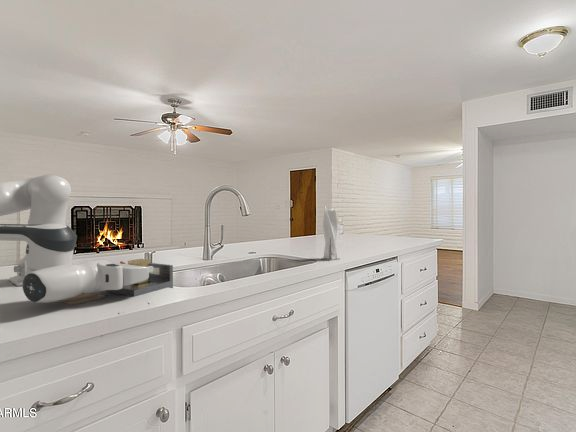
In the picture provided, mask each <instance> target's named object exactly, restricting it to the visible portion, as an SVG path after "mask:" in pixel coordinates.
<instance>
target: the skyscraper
mask: <svg viewBox="0 0 576 432" xmlns="http://www.w3.org/2000/svg"><path fill="white" fill-rule="evenodd" d="M323 213H324V214H323V221H322V222H323V223H322V224H323V225H322V229H323V238H324V242H325V244H324V250H323V257H321V258H320V260H323V259H324V261H329V260H333V261H338V260H341V258H339V257H338V253H337V252H338V251H337V246H336V244H337V243H336V239H337V235H338V225H339V223H338V213H337V209H336V208H334V209H333V208H327V206H326V205H324V212H323ZM337 259H338V260H337Z"/></svg>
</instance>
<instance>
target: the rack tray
mask: <svg viewBox="0 0 576 432" xmlns="http://www.w3.org/2000/svg"><path fill="white" fill-rule="evenodd" d="M148 266H153V272H150V273H149V278H148V283H146V284H142V285H138V286H137V285H127V286H123V288H122V289H119V290H105V291H104V292H108V293H113V294H118V295H123V296H129V297H139V296H142V295H146V294H149V293H152V292H157V291H161V290H163V289H168V288H169V289H173V288H174V275H173V274H174V273H173V272H174V271H173V270H174V269H173V268H174V266H173V265H172V264H164V263H157V262H156V263H155V262H150V264H148Z"/></svg>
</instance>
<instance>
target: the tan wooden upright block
mask: <svg viewBox="0 0 576 432" xmlns="http://www.w3.org/2000/svg"><path fill="white" fill-rule="evenodd" d="M150 263H151V259H148V258H147V259H146V258H138V259H131V260H130V259H129V260H127V264H128V265H136V266H145V267H146V266H148V264H150ZM146 283H148V279H147V280H145V281H142V282H139V283H135V284H132V285H137V286H138V285H142V284H146Z"/></svg>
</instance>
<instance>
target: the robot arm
mask: <svg viewBox="0 0 576 432" xmlns="http://www.w3.org/2000/svg"><path fill="white" fill-rule="evenodd" d="M71 193H72V187H71V185H70V182H68V180H66V179H65V178H63V177H62V176H59V175H56V174H52V173H51V174H48V173H47V174H44V175H39V176H35V177H30V178H28V177H27V178H22V179H15V180H8V181H0V217H3V216H7V215H12V214H16V213H21V212H23V211H28V210H29V215H28V216H29V217H28V221H27V224H21V223H19V224H18V223H17V224H15V223H14V224H13V223H12V224H11V223H10V224H9V223H0V241H3V242H4V241H10V242H15V241H16V242H21V241H22V242H26V247H25V255H24V257H23V258H22V259H21V260H20V261H19V262H18V264H17V265H15V266H13V272H14V273H17V274H16V275H15V276H10V277H9V278H8V281H9V282H11V283H12V284H14V285H15V286H18V287H19V286H20V287H22V290H23V291H22V292H23V294H24V296H25V297H26V298H27V300H29V301H30V302H32V303H51V302H59V300H64V299H69V298H73V297H75V296H77V295H80V294H90V293H93V294H96V293H99V292H106V291H105V290H119V289H122V288H123V286H127V285H132V284H135V283H139V282H142V281H145V280H147V279H148V278H149V273H150V272H153V266H146V267H145V266H136V265H128V263H125V264H120V262H119V263H118V262H111V261H109V260H108V259H103V258H102V259H101V258H99V259H92V260H87V261H86V260H85V261H81V262H80V263H76V264H75V263H74V264H73V260H74V250H75V247H76V243H77V241H78V240H77V239H78V235H77V234H76V233H75V231H74V230H73V229H72V228H71V227H70V226H69V225H66V224H67V223H66V221H67V214H68V209H69V200H70V196H71Z"/></svg>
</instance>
